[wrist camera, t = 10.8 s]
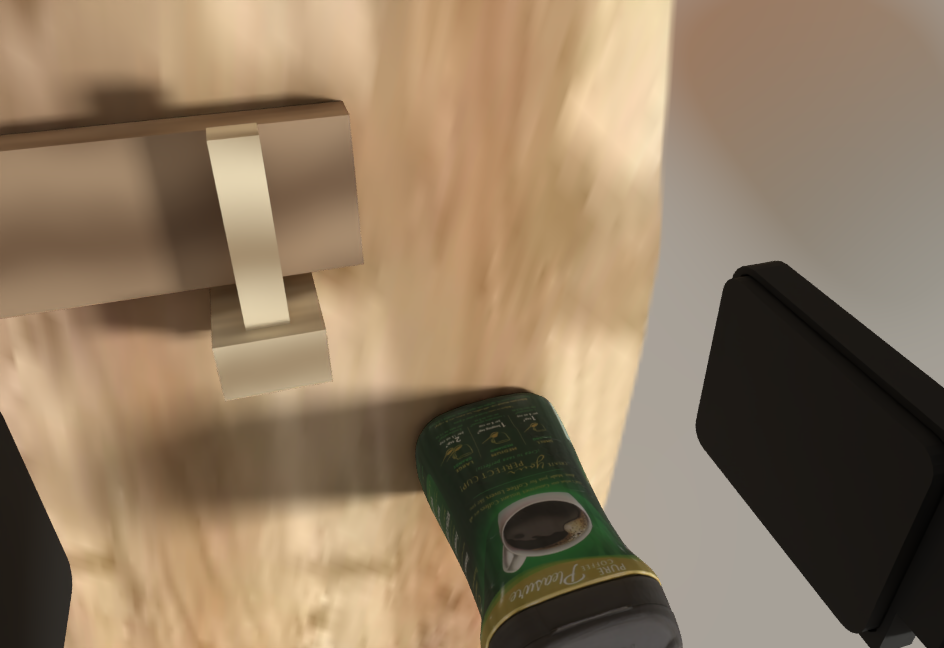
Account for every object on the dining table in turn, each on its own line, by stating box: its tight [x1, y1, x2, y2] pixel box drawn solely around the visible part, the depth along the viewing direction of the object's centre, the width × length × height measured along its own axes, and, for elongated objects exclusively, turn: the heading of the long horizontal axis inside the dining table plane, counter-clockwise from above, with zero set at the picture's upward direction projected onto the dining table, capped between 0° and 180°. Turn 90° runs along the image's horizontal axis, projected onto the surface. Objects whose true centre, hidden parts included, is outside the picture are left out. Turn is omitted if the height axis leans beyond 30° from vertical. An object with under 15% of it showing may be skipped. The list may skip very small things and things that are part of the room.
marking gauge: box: [206, 123, 333, 401], centre depth 36 cm, size 13×5×6 cm, turn 1°
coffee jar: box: [415, 393, 683, 648], centre depth 43 cm, size 10×8×19 cm
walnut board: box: [0, 101, 364, 319], centre depth 34 cm, size 8×28×2 cm, turn 91°
